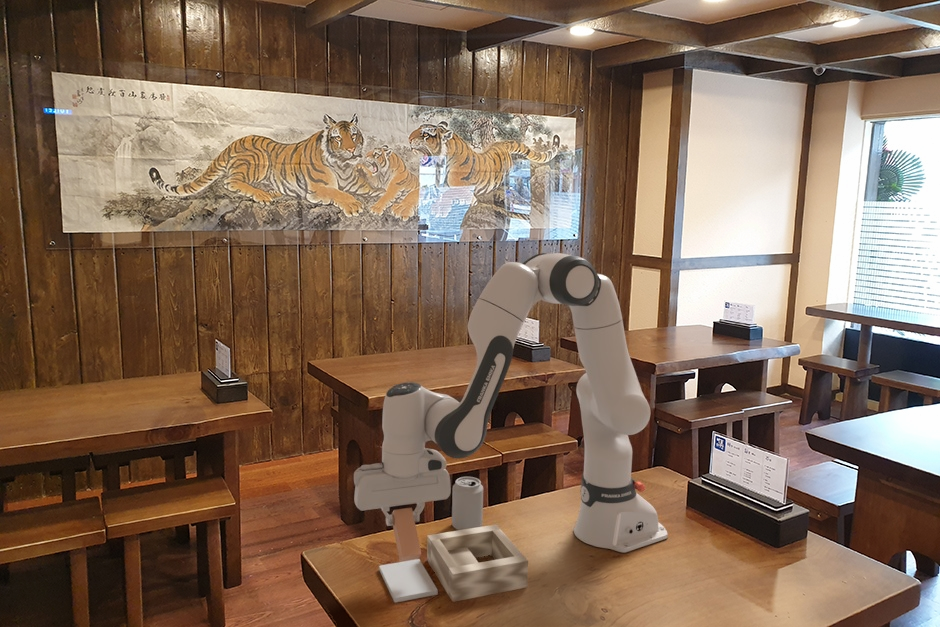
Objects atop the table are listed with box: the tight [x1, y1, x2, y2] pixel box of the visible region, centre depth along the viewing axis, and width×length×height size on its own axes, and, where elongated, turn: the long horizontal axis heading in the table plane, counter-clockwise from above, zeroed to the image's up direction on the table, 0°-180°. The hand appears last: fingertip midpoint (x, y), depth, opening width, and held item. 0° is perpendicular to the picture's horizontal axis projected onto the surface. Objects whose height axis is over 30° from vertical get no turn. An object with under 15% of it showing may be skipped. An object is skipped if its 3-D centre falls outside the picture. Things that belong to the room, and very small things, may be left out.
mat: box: [378, 558, 439, 603], centre depth 149 cm, size 9×13×1 cm
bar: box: [391, 507, 422, 562], centre depth 148 cm, size 10×4×3 cm
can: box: [451, 476, 484, 531], centre depth 173 cm, size 8×8×12 cm
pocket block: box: [426, 524, 529, 603], centre depth 153 cm, size 16×17×6 cm
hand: (402, 522), depth 151 cm, fingers closed on bar, 4 cm apart
